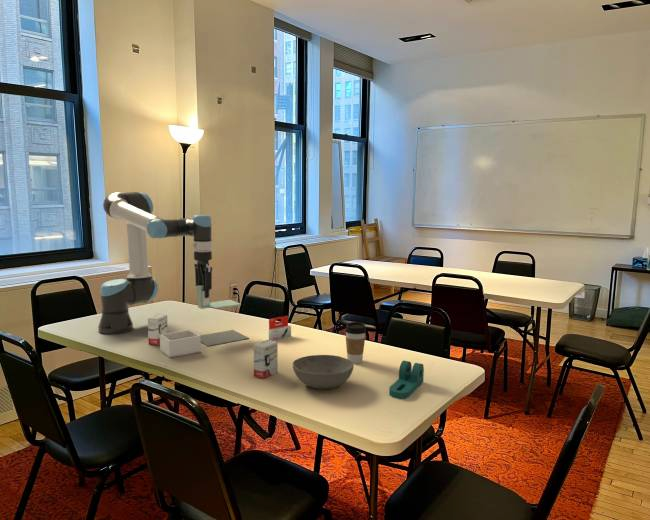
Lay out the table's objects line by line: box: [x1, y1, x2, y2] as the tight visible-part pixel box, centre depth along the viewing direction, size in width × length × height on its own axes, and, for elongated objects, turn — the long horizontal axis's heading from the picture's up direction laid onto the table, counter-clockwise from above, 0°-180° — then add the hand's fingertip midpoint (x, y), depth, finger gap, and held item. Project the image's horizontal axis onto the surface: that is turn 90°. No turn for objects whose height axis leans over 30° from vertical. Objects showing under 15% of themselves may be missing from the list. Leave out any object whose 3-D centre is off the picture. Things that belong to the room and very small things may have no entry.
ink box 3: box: [268, 315, 292, 342], centre depth 225 cm, size 2×11×10 cm, turn 131°
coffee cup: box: [344, 321, 367, 365], centre depth 195 cm, size 8×8×15 cm
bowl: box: [292, 354, 355, 390], centre depth 171 cm, size 21×21×8 cm
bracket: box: [388, 359, 425, 400], centre depth 169 cm, size 18×7×8 cm, turn 151°
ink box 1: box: [147, 313, 169, 346], centre depth 216 cm, size 9×5×12 cm, turn 168°
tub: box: [159, 329, 202, 359], centre depth 204 cm, size 11×13×7 cm
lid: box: [196, 285, 242, 310], centre depth 220 cm, size 11×17×10 cm, turn 127°
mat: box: [199, 329, 250, 347], centre depth 224 cm, size 16×20×1 cm
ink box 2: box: [253, 339, 279, 380], centre depth 180 cm, size 9×5×12 cm, turn 148°
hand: (203, 303), depth 217 cm, fingers closed on lid, 4 cm apart
